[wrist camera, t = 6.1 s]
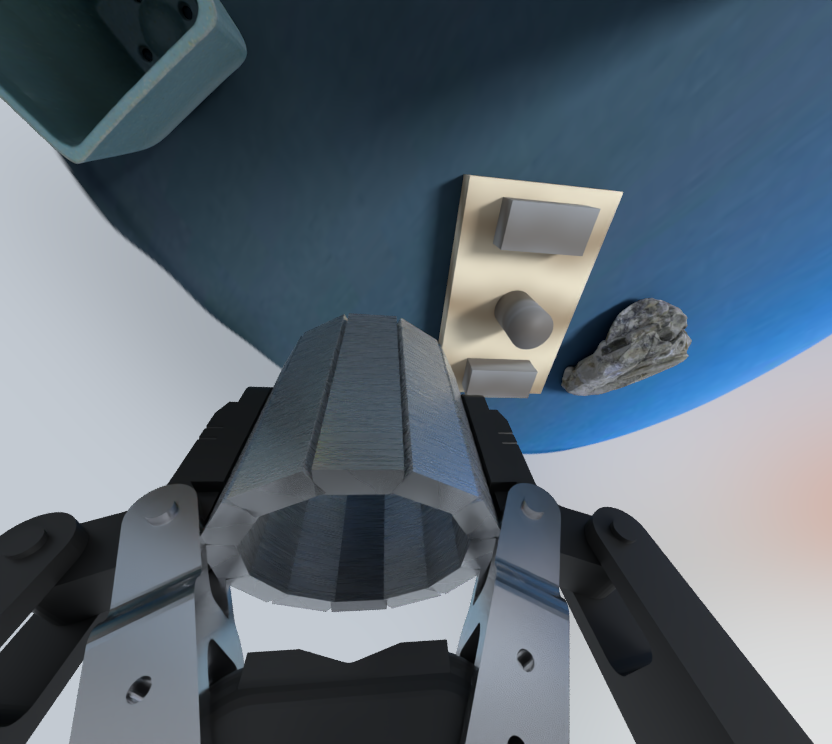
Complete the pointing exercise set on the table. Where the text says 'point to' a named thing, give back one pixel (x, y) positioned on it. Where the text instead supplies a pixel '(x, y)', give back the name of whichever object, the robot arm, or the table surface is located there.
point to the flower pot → (112, 69)
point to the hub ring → (356, 477)
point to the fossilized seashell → (632, 349)
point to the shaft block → (517, 279)
